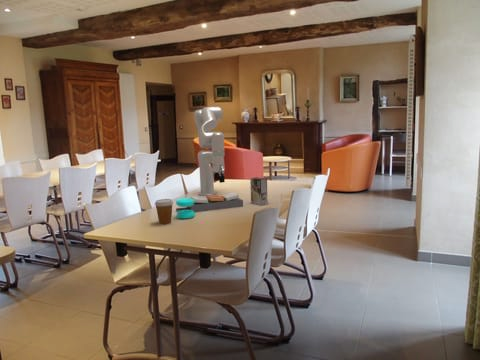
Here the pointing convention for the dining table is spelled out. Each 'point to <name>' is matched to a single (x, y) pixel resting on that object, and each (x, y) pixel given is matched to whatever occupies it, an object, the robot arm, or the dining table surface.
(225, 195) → the rocker far grey
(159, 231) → the dining table surface
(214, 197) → the rocker middle orange
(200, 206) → the long grey tray
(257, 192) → the coffee box
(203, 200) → the rocker near grey
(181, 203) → the donuts
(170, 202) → the disposable coffee cup
